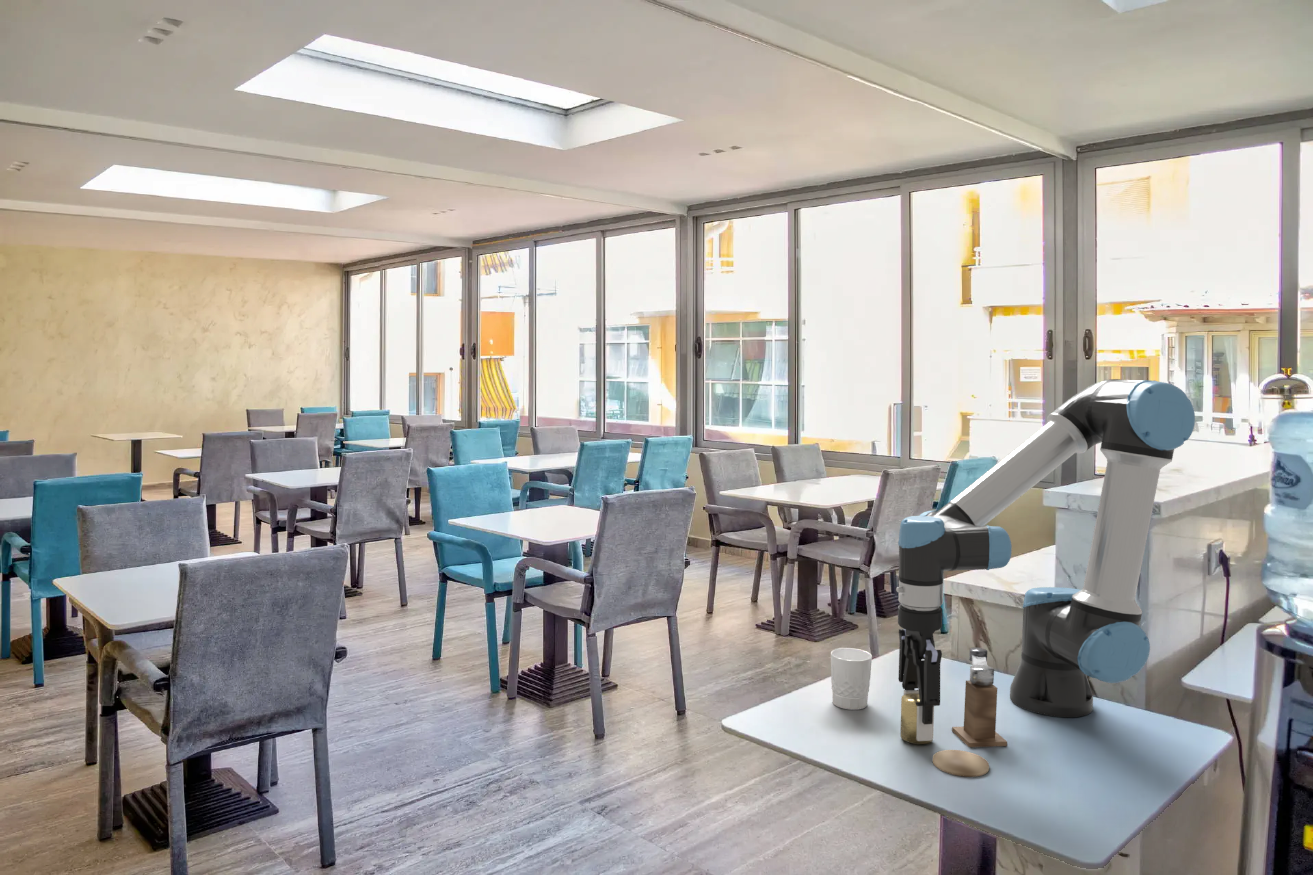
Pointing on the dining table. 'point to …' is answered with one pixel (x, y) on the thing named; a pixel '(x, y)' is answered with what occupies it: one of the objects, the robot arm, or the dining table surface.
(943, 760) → the coaster
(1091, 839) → the dining table surface
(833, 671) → the white cup
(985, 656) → the lever
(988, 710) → the post
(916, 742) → the brass cylinder
